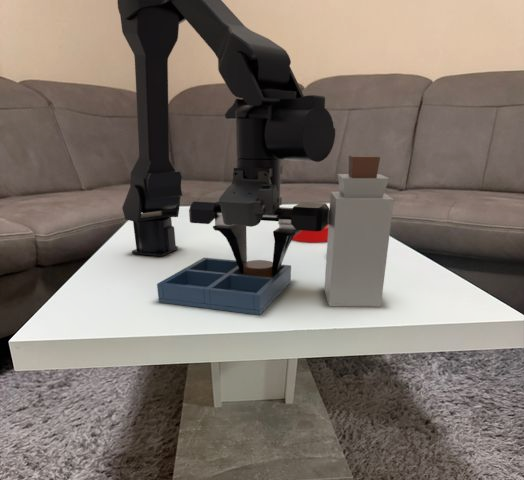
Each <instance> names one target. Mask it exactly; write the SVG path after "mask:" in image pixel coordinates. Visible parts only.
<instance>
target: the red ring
mask: <svg viewBox="0 0 524 480" xmlns="http://www.w3.org/2000/svg"><path fill="white" fill-rule="evenodd" d="M328 226H329V224H328V225H327V226H326V227H325V228H324V229H323V230H322V231H303V230H302V231H301V232H299V233H298V234H297V235H295V236H294V237H293V239H292V241H295V242H302V243H326V242H328Z"/></svg>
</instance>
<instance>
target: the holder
mask: <svg viewBox="0 0 524 480" xmlns="http://www.w3.org/2000/svg"><path fill="white" fill-rule="evenodd" d="M291 282H292V265H290V264H281V267H280V269H279V272H278V273H277V274H276V275H275V276H274V277H273V278H271V277H261V276H251V275H243V273H241V272H240V270H239V267H238V264H237V262H236V259H226V258H225V259H223V258H214V257H213V258H212V257H202V258H200V259H198V260H196V261H195V262H193V263H191V264H189V265H188V266H186V267H184V268H182V269H181V270H179V271H177V272H176V273H173V274H172V275H170V276H169V277H167V278H165V279H163V280H161V281H160V282H157V283H156V289H157V297H158V303H160V304H161V303H162V304H171V305H178V306H187V307H194V308H200V309H201V308H202V309H211V310H217V311H225V312H226V311H227V312H234V313H240V314H241V313H242V314H249V315H259V316H260V315H262V313H264V311H265V310H266V309H268V307H269V306H270V305H271V304H272V303H273V302H274V301H275V299H277V297H278V296H279V295H280V294H281V293H282V292H283V291H284V290H285V289H286V288H287V286H288V285H290V284H291Z"/></svg>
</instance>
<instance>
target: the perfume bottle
mask: <svg viewBox="0 0 524 480" xmlns="http://www.w3.org/2000/svg"><path fill="white" fill-rule="evenodd" d="M380 161H381V156H378V155H348V173H337V178H338V186H339V187H338V188H339V191H330V195H329V196H330V197H329V226H328V241H327V243H326V257H325V260H326V261H325V275H324V293H325V296H326V300H327V303H328V307H365V308H367V307H373V308H374V307H377V308H381V307H382V299H383V291H384V283H385V277H386V276H385V275H386V268H387V267H386V266H387V259H388V250H389V243H390V242H389V241H390V235H391V234H390V233H391V226H392V219H393V218H392V217H393V210H394V209H393V208H394V201H395V199H394V198H392V197H391V196H390V195H388V194H386V193H385V191H386V188H387V187H388V186H387V185H388V183H389V180H390V178H389V177H387V176H385V175H383V174H380V173H378V172H379V166H380Z"/></svg>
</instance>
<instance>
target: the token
mask: <svg viewBox="0 0 524 480" xmlns="http://www.w3.org/2000/svg"><path fill="white" fill-rule="evenodd" d="M272 265H273V261H271V260H265V259H255V260H247V262H245V263H244V264H243V275H251V276H261V277H271V278H273V270H272Z"/></svg>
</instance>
